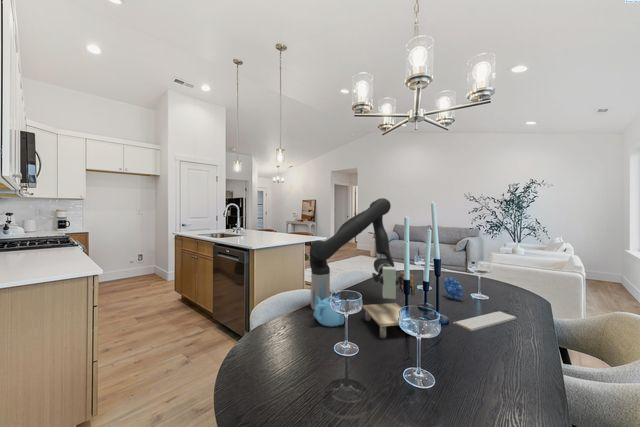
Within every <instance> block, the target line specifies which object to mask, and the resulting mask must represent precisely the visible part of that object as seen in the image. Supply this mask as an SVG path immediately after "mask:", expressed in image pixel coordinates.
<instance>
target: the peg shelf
mask: <svg viewBox="0 0 640 427" xmlns="http://www.w3.org/2000/svg"><path fill="white" fill-rule="evenodd" d="M362 305H363V306H361V308H363V310H364V311H365V315H364V316H365V319H364V320H365V321H366V322H371V321H372V319H373V321H374V322H375V323H376V324H377V325H378V326H379V338H380V339H386V338H387V327H391V326H392V327H394V326H400V325H399V324H398V318H399V311H400V309H401V308H402V307H401V306H400V305H399V304H397V303H396V302H394V303H392V302H391V303H377V304H376V303H375V304H362Z"/></svg>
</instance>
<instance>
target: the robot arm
mask: <svg viewBox="0 0 640 427" xmlns="http://www.w3.org/2000/svg"><path fill="white" fill-rule="evenodd" d="M391 207H392V205H391V202H390V201H389V199H387V198H383V197H381V198H377V199H376V200H374V201H372V202H371V203H370V204H369V207H368V208H367V209H365V210H363V211H362V212H358V213H357V214H355V215H354V216H352V217H351V218H349V219H347V220H346V221H345V222H344V223H343V224H341V226H340V227H339V229H338V230H337V231H336V233H334V234H333V235H332V236H331V237H330V238H328V239H326V240H320V239H319V240H315V241H313V242H312V243H311V245H310V246H309V266H310V270H311V271H310V272H311V277H310V278H311V280H310V281H311V286H310V308H311V309H312V310H314V311H315V307H316V305H317V303H316V297H317V296H318V297H320V299H321V301H322V300H323V299H326V298H329V296H331V290H330V289H331V288H330V286H331V284H330V283H331V281H330V280H331V279H330V278H331V269H330V266H329V264H328V262H327V260H329V259H330V258H332V256H334V255H335V254H336V253H337V252H338V251H339V250H340V249H341V248H342V247H344V246H345V245H346V244H348V243H349V242H350V241H351V240H353V239H355V238H356V237H357V236H358V235H360V234H361V233H362V232H364V230H366V229H367V228H368V227H369V226H371V225H372V226H373V232H374V238H375V239H374V241H375V253H376V254H378V255H382V256H385V257H384V258H377V259H375V260H374V261H373V268H374V271H375V272H376V273H375V272H372V273H371V276H372V278H371V279H372V280H373V281H374V282H375V283H378V282H379V284H381V285H382V286H383V284H384V280H383V267H395V263H394V262H395V261H394V260H393V257H392V255H391V251H390V241H389V237H388V234H387V232H386V229H385V227H384V226H385V225H384V221H383V216H384V215H386V214H388V213H390V210H391ZM402 282H403V274H401V273H400V274H399V275H398V273H396V286H398V285H400V283H402Z"/></svg>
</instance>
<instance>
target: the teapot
mask: <svg viewBox="0 0 640 427" xmlns="http://www.w3.org/2000/svg"><path fill="white" fill-rule="evenodd" d="M331 296H332V295H330V296H329V298H326V299H323V300H322V301H321V299H320V297H318V296H317V297H316V303H317V305H316V307H315V309H314V311H313V317H314V318H315V319H316V320H317V322H318V323H319V324H320V325H322V326H325V327H329V328H331V327H332V328H333V327H334V326H335V327H340V326H342V325H344V324H345V323H344V315H342V314H338V313H336V312H334V311H333V310H332V309H331V306H330V299H331ZM339 325H340V326H339ZM335 327H334V328H335Z"/></svg>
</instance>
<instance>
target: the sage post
mask: <svg viewBox="0 0 640 427" xmlns="http://www.w3.org/2000/svg"><path fill="white" fill-rule="evenodd" d="M396 274H397V269H396V267H395V266H394V267H383V280H384V284H383V285H382V292H381V293H382V298H383V299H390V300H391V299H392V300H393V299H394V300H396V299H397V295H396V294H397V293H396V292H397V285H396Z"/></svg>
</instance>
